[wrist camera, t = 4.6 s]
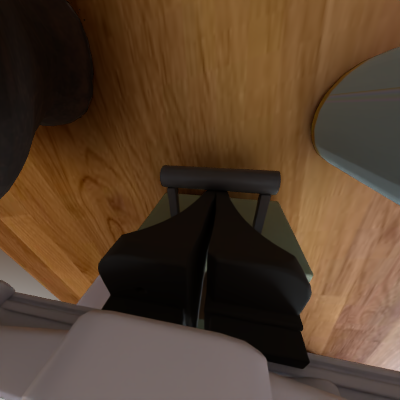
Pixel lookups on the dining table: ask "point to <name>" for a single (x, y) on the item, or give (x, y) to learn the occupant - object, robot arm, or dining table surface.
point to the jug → (39, 76)
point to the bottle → (364, 124)
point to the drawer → (249, 209)
